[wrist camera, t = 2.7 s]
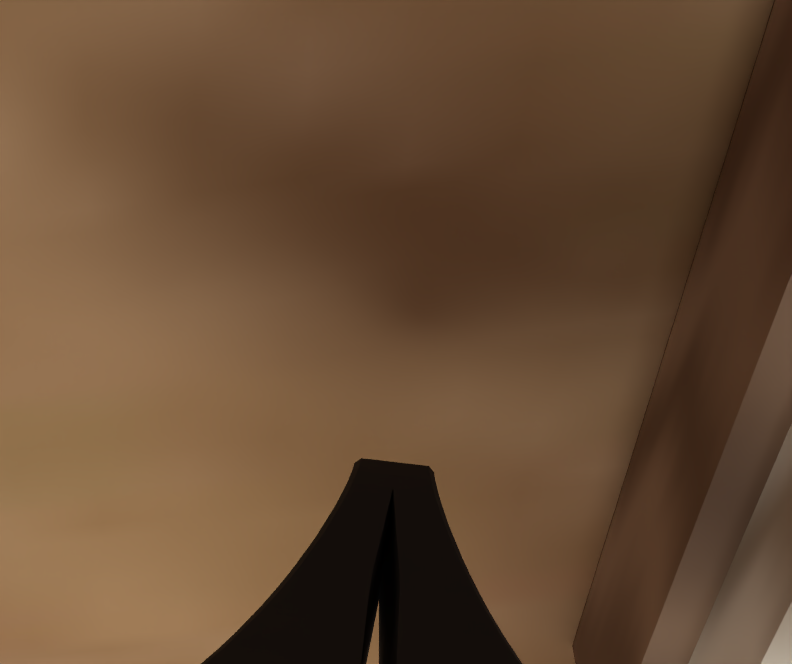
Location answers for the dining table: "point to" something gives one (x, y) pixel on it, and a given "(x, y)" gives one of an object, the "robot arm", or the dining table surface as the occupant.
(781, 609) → the birch tile
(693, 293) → the walnut board
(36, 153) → the dining table surface
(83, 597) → the dining table surface
